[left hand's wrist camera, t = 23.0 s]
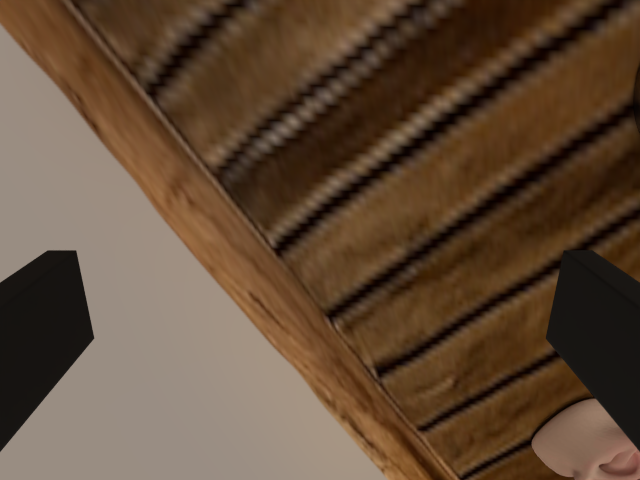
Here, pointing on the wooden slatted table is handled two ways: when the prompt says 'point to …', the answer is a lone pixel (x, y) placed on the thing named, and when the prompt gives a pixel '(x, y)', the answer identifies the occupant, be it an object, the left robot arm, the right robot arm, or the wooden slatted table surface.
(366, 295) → the wooden slatted table surface
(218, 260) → the wooden slatted table surface
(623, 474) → the anatomical model
